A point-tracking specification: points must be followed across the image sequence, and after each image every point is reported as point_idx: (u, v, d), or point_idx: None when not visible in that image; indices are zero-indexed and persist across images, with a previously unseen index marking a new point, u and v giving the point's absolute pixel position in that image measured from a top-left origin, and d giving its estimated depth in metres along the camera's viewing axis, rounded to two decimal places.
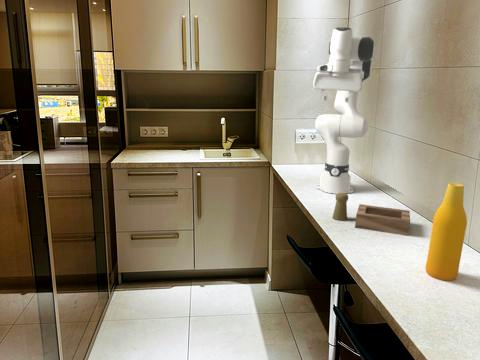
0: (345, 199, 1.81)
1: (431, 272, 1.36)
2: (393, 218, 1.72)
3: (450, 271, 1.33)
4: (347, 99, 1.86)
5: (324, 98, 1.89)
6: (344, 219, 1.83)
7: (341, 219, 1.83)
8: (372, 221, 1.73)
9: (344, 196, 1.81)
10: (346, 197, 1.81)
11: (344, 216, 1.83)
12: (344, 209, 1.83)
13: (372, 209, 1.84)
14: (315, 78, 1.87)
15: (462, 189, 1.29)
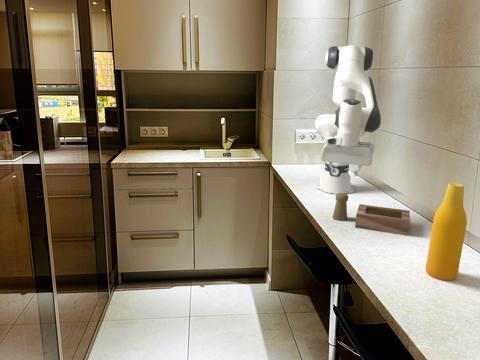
0: (345, 199, 1.81)
1: (431, 272, 1.36)
2: (393, 218, 1.72)
3: (450, 271, 1.33)
4: (356, 173, 1.78)
5: (332, 171, 1.81)
6: (344, 219, 1.83)
7: (341, 219, 1.83)
8: (372, 221, 1.73)
9: (344, 196, 1.81)
10: (346, 197, 1.81)
11: (344, 216, 1.83)
12: (344, 209, 1.83)
13: (372, 209, 1.84)
14: (323, 150, 1.79)
15: (462, 189, 1.29)
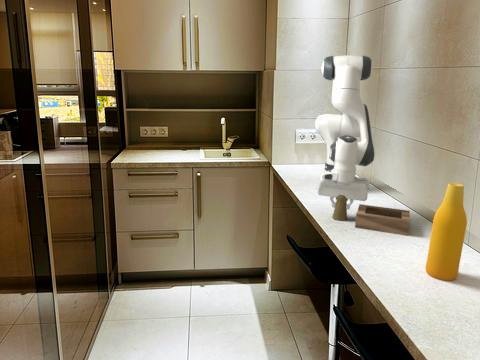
0: (345, 199, 1.81)
1: (431, 272, 1.36)
2: (393, 218, 1.72)
3: (450, 271, 1.33)
4: (348, 207, 1.83)
5: (333, 205, 1.85)
6: (344, 219, 1.83)
7: (341, 219, 1.83)
8: (372, 221, 1.73)
9: (344, 196, 1.81)
10: None
11: (344, 216, 1.83)
12: (344, 209, 1.83)
13: (372, 209, 1.84)
14: (320, 185, 1.83)
15: (462, 189, 1.29)
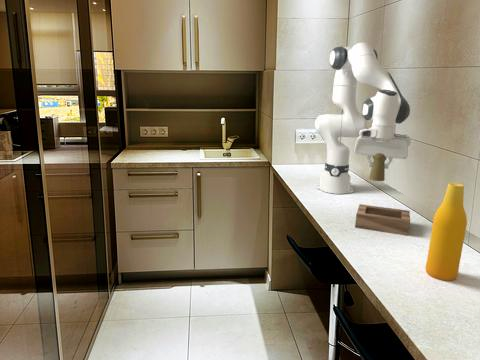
0: (384, 158, 1.72)
1: (431, 272, 1.36)
2: (393, 218, 1.72)
3: (450, 271, 1.33)
4: (386, 166, 1.73)
5: (371, 164, 1.75)
6: (382, 179, 1.73)
7: (379, 179, 1.73)
8: (372, 221, 1.73)
9: (383, 154, 1.71)
10: None
11: (382, 176, 1.73)
12: (382, 169, 1.73)
13: (372, 209, 1.84)
14: (357, 143, 1.74)
15: (462, 189, 1.29)
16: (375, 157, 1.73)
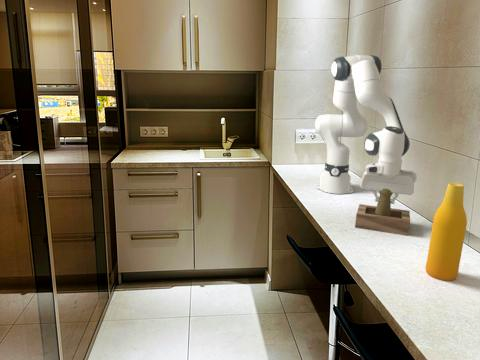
0: (390, 193, 1.74)
1: (431, 272, 1.36)
2: (393, 218, 1.72)
3: (450, 271, 1.33)
4: (392, 201, 1.75)
5: (377, 199, 1.77)
6: (388, 214, 1.76)
7: (385, 214, 1.75)
8: (372, 221, 1.73)
9: (389, 190, 1.74)
10: None
11: (388, 211, 1.76)
12: (388, 204, 1.75)
13: (372, 209, 1.84)
14: (363, 178, 1.76)
15: (462, 189, 1.29)
16: (381, 192, 1.75)
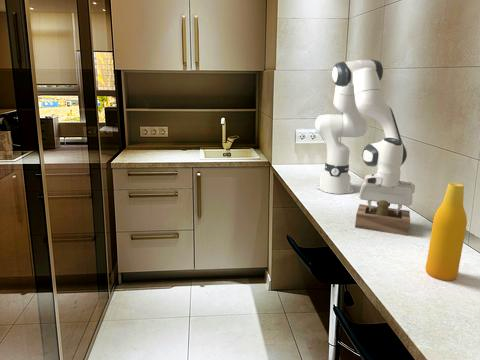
0: (387, 205, 1.75)
1: (431, 272, 1.36)
2: (393, 218, 1.72)
3: (450, 271, 1.33)
4: (396, 212, 1.76)
5: (371, 209, 1.79)
6: None
7: None
8: (372, 221, 1.73)
9: (386, 201, 1.75)
10: None
11: None
12: (386, 215, 1.77)
13: None
14: (362, 189, 1.77)
15: (462, 189, 1.29)
16: (379, 204, 1.76)
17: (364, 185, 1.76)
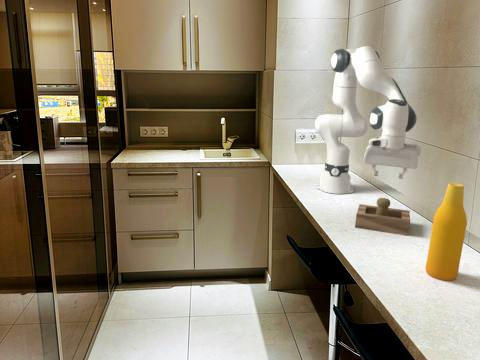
0: (387, 204, 1.75)
1: (431, 272, 1.36)
2: (393, 218, 1.72)
3: (450, 271, 1.33)
4: (401, 176, 1.72)
5: (375, 173, 1.75)
6: None
7: None
8: (372, 221, 1.73)
9: (386, 201, 1.75)
10: (388, 202, 1.75)
11: None
12: (386, 215, 1.77)
13: (372, 209, 1.84)
14: (366, 153, 1.73)
15: (462, 189, 1.29)
16: (379, 204, 1.76)
17: (368, 148, 1.72)
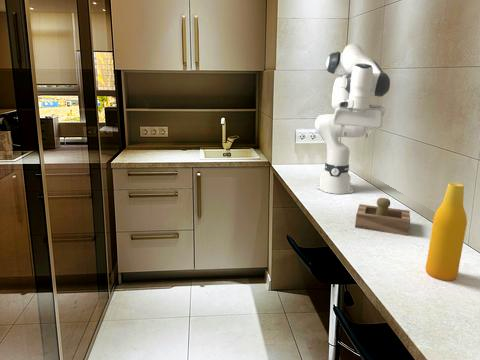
0: (387, 205, 1.75)
1: (431, 272, 1.36)
2: (393, 218, 1.72)
3: (450, 271, 1.33)
4: (367, 135, 1.85)
5: (344, 133, 1.88)
6: None
7: None
8: (372, 221, 1.73)
9: (386, 201, 1.75)
10: (388, 202, 1.75)
11: None
12: (386, 215, 1.77)
13: (372, 209, 1.84)
14: (335, 114, 1.86)
15: (462, 189, 1.29)
16: (379, 204, 1.76)
17: (337, 110, 1.86)
